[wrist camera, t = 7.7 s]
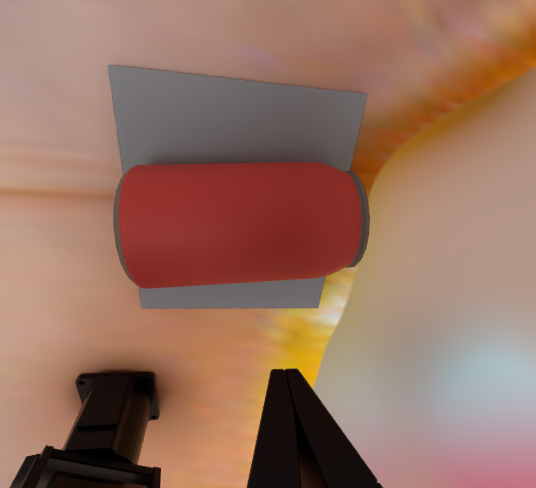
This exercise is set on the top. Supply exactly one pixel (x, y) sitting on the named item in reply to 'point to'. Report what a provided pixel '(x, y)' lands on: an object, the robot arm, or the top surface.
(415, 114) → the top surface
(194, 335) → the top surface
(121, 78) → the mat
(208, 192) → the beer can
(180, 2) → the top surface
